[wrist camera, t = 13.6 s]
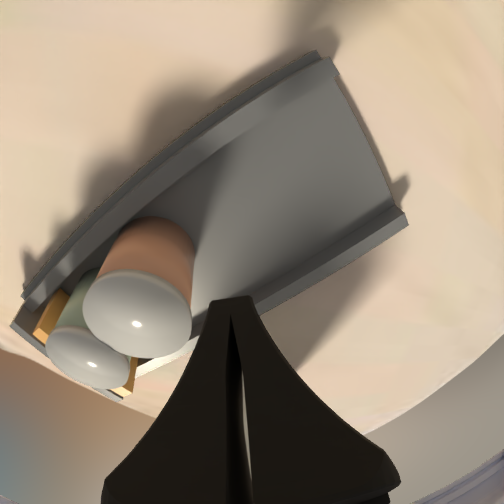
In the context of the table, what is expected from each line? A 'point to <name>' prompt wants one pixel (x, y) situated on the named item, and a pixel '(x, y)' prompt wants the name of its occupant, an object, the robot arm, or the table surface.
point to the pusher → (49, 323)
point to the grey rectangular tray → (245, 201)
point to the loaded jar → (85, 345)
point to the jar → (144, 290)
